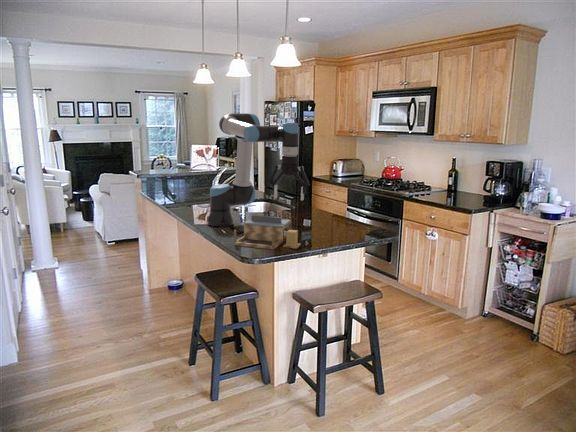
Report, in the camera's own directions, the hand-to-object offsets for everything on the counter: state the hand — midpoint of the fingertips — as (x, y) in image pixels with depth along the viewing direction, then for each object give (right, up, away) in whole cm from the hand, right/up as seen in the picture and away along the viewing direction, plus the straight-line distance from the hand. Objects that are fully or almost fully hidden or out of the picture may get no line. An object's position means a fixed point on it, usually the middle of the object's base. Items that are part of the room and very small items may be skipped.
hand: (288, 199), depth 213 cm
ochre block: (+2, -22, +2) cm, 23 cm away
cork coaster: (+2, -23, +2) cm, 23 cm away
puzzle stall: (-13, -21, +12) cm, 27 cm away
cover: (-11, -12, +16) cm, 23 cm away
